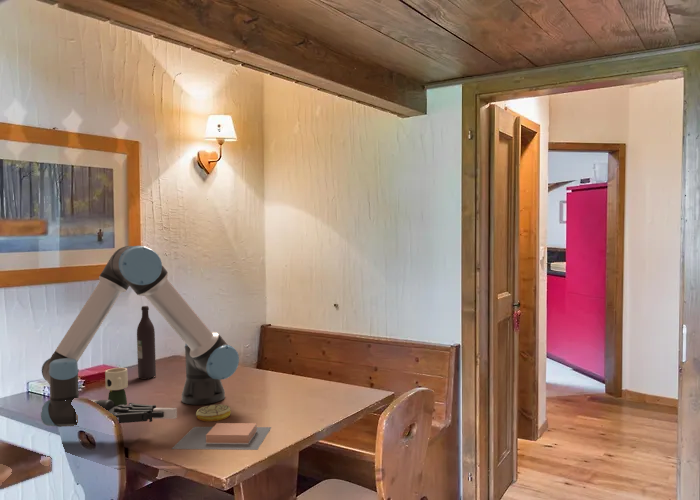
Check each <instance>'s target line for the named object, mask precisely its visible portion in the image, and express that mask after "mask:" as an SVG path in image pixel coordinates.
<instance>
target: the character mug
mask: <svg viewBox="0 0 700 500" xmlns="http://www.w3.org/2000/svg"><path fill="white" fill-rule="evenodd" d="M104 375H105V389H106V390H108V391H109V392H108V397H107V400H112V401H113V402H114V404H115V406H118V405H125V406H128V399H127V398H128V397H127V395H126V394H127V393H126V390H125V389H127V388H128V386H129V385H128V384H129V383H128V368H126V367H115V368H110V369H106V370H105V371H104Z"/></svg>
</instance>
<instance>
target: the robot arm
mask: <svg viewBox="0 0 700 500" xmlns="http://www.w3.org/2000/svg"><path fill="white" fill-rule="evenodd" d="M162 263H163V262H162V260H161V258H160V256H159V254H158V253H157V252H156V251H154V250H153V249H151V248H149V246H148V247H147V246H146V245H145V246H143V245H125V246H122V247H120V248H118V249H117V250H115V252H113V254H112V255H111V257H110V258H109V260H108V261H107V263H106V265H105V266H104V267H103V269H102V271H101V273H100V275H99V276H98V279H99V281H98V283H97V285H96V286H95V289H94V290H93V291H92V293H91V294H90V296H89V298H87V300H86V302H85V304H84V305H83V307H82V308H81V310H80V312H78V315H77V316H76V317H75V319H74V321H73V322H72V324H71V325H70V327H69V328H68V330H67V332H66V333H65V335H64V336H63V338H62V339H61V341H60V343H59V344H58V346H57V347H56V349H55V351H54V352H53V353H52V355H51V356H50V357H49V358H47V359H46V360H45V361H44V362H43V364H42V365H41V375H42V377H43V379H44V380H45V381H46V382H47V383H48V384H49V394H50V397H49V398H50V399H49V400H47V401H45V402H44V403H43V405H42V407H41V412H40V419H41V422H42V423H43V424H44V425H45V426H47V427H56V428H57V427H58V428H62V427H75V426H74V425H77V423H78V415H77V414H76V412H75V409H74V408H73V406H72V405H71V402H72V400H73V399H74V398H79V399H80V396H79V395H80V393H79V373H80V372H79V366H78V365H79V364H78V361H79V360H80V359H81V357H82V356H83V354H84V352H85V351H86V350H87V348H88V346H89V344H90V343H91V341H92V340H93V338H94V337H95V335H96V334H97V332H98V330H99V329H100V327H101V326H102V324H103V322H104V321H105V319H106V318H107V317H108V314H109V313H110V311H111V309H112V308H113V307H114V305H115V303H116V302H117V300H118V299H119V297H120V296H121V294H122V293H127V292H126V291H127V290H128V289H129V287H130V288H131V289H132V290H133V292H134V293H135V294H136V295H137V296H140V297H143V296H144V297H145V298H146V299H147V300H148V301H149V302H150V304H151V305H152V306H153V307H154V309H156V311H158V313H159V314H160V315H161V316H162V317H163V319H164V320H165V321H166V323H168V325H169V326H170V327H171V328H172V329H173V330H174V332H175V333H176V334H177V335H178V336H179V338H180V339H181V340H182V341H183V342H184V343H185V345H184V349H185V351H184V354H185V382H184V386H183V389H182V392H181V402H182V403H183V404H187V405H194V406H196V405H197V406H199V405H211V404H215V403H218V402H221V401H222V400H224V399H225V398H226V396H225V395H226V391H225V389H224V386H223V383H222V380H227V379H228V378H230V377H232V376H233V375H234V374H235V372H236V371H237V369H238V368H239V363H240V356H239V353H238V351H237V349H236V348H235V347H234V346H232V345H231V344H228V343H227V341H225V340H224V339H223V337H222V336H221V335H220V334H219V333H218V332H217V331H211V330H210V329H209V328H208V326H207V325H206V324H205V323H204V321H203V320H202V319H201V318H200V317H199V316H198V314H197V313H196V312H195V311H194V310H193V308H192V307H191V306H190V305H189V304H188V302H187V301H186V300H185V299H184V298H183V296H182V294H180V292H179V291H178V290H177V289H176V288H175V287H174V286H173V284H172V283H171V281H170V280H169V279H168V277H169V274H168V270H167V269H166V268H165V267H164V265H163V264H162ZM65 400H66V401H65ZM90 400H91V401H93V402H95V403H97V404H99V405H100V406H102V407H103V408H105V409H106V410H108V411H109V412H110V413H112V414H113V415H114V416H116V417H117V419H118V421H119V423H118V424H126V423H127V424H128V423H140V422H141V423H142V422H143V423H144V422H147V421H148V420H149V423H152V422H153V420H155V419H158V420H159V419H161V420H162V419H163V420H165V419H166V420H167V419H169V420H172V419H173V420H174V419H177V418H178V407H157V405H156V404H143V403H134V402H129V403H128V405H118V406H115V404H114V402H113V401H112V400H108V399H99V400H98V399H90ZM76 420H77V422H76Z"/></svg>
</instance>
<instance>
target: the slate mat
mask: <svg viewBox="0 0 700 500" xmlns="http://www.w3.org/2000/svg"><path fill="white" fill-rule="evenodd" d="M213 427H214V426H193V427H192V428H191V429H190V430H189V431H188V432H187V433H186V434H185V435H184V436H183V437H182V438H181V439H180V440H179V441H178V442H177V443H175V445H174V446H173V447H172V448H171V450H223V451H224V450H237V451H239V450H240V451H241V450H242V451H247V450H249V451H253V450H254V451H257V450H258V451H259V448H260V447H261V445H262V443H263V442H264V440H265V439H266V437H267V435H268V434H269V432H270V431H271V429H272V426H269V427H268V426H257V432H256V434H255V435H254V437H253V438H252V439H251V441H250V442H249V444H206V434H207V433H208V432H209V431H210V430H211V429H212V428H213Z"/></svg>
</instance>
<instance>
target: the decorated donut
mask: <svg viewBox="0 0 700 500" xmlns="http://www.w3.org/2000/svg"><path fill="white" fill-rule="evenodd" d="M230 415H231V407H230V406H228V405H227V404H215V403H214V404H207V405H206V406H202V407H200V408H199V409H197V411H196V412H195V416H196V419H197V420H199V421H203V422H217V421H223V420H225V419H228V418H229V417H230Z"/></svg>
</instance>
